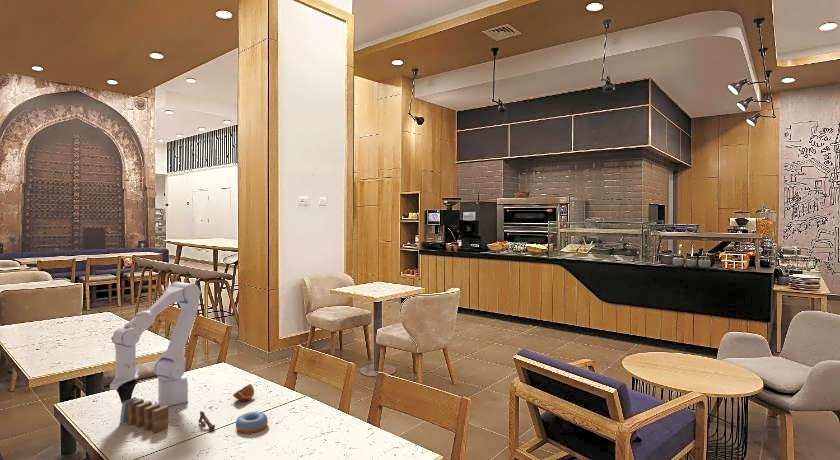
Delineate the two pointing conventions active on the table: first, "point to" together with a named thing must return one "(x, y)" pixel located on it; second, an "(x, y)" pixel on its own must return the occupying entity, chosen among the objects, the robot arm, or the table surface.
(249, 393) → the fruit slice
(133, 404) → the domino
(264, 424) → the doughnut
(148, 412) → the domino
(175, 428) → the table surface
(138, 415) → the domino
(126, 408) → the domino
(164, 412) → the domino
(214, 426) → the dark angular frame
